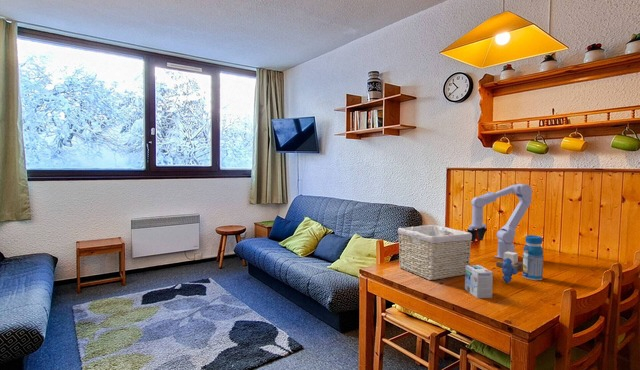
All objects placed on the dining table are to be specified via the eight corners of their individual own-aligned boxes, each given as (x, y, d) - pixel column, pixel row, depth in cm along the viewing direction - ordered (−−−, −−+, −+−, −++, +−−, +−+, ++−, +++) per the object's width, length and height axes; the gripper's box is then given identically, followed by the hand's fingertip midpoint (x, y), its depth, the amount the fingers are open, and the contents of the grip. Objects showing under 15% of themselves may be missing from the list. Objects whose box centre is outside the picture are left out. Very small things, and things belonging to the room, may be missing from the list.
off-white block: (507, 260, 190) (507, 251, 189) (517, 262, 186) (517, 253, 185) (503, 262, 187) (503, 252, 186) (513, 264, 183) (513, 254, 182)
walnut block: (506, 264, 193) (506, 258, 193) (525, 268, 185) (525, 263, 185) (496, 267, 187) (496, 261, 187) (515, 272, 179) (515, 266, 179)
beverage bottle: (535, 281, 163) (537, 239, 162) (518, 276, 170) (519, 235, 169) (546, 279, 167) (548, 237, 166) (529, 274, 174) (530, 234, 173)
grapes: (515, 288, 154) (516, 261, 153) (498, 285, 158) (499, 259, 157) (519, 281, 163) (520, 256, 163) (503, 278, 167) (504, 253, 167)
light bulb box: (464, 289, 154) (464, 264, 153) (479, 288, 154) (479, 264, 154) (477, 298, 143) (477, 272, 143) (493, 298, 144) (493, 272, 143)
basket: (434, 261, 198) (435, 222, 196) (473, 274, 174) (474, 231, 172) (395, 267, 186) (395, 226, 185) (431, 283, 162) (432, 236, 161)
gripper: (478, 215, 212) (477, 238, 213) (463, 218, 204) (463, 241, 205) (489, 217, 207) (488, 240, 207) (475, 219, 199) (474, 243, 199)
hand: (476, 241), depth 206 cm, fingers open, 7 cm apart
